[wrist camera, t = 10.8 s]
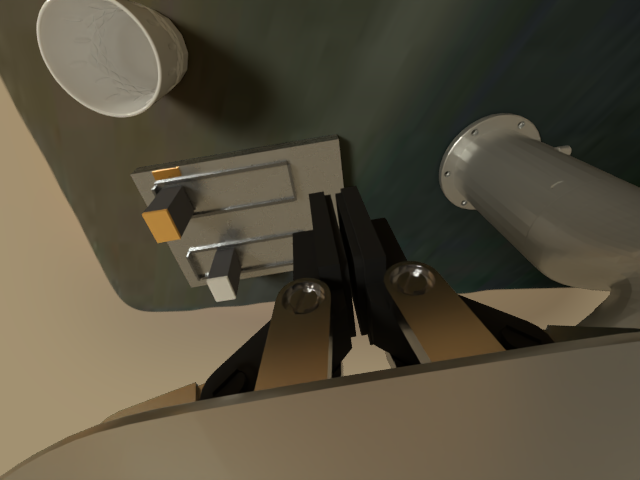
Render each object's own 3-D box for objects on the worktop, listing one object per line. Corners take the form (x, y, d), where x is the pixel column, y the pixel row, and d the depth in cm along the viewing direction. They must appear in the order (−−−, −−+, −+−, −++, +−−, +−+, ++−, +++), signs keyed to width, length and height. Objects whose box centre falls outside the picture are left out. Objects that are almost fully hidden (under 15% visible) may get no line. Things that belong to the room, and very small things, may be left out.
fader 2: (234, 248, 41) (226, 278, 37) (241, 267, 44) (235, 298, 39) (216, 251, 41) (206, 281, 37) (224, 270, 44) (216, 301, 39)
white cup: (187, 3, 28) (146, -6, 20) (200, 96, 32) (171, 120, 24) (95, -6, 27) (12, -19, 19) (121, 91, 32) (63, 114, 23)
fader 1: (182, 185, 36) (165, 210, 31) (194, 211, 38) (180, 239, 33) (161, 188, 36) (141, 214, 31) (174, 214, 38) (157, 243, 33)
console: (336, 133, 36) (339, 141, 34) (349, 252, 46) (352, 265, 44) (137, 167, 36) (126, 178, 34) (194, 278, 47) (189, 292, 44)
